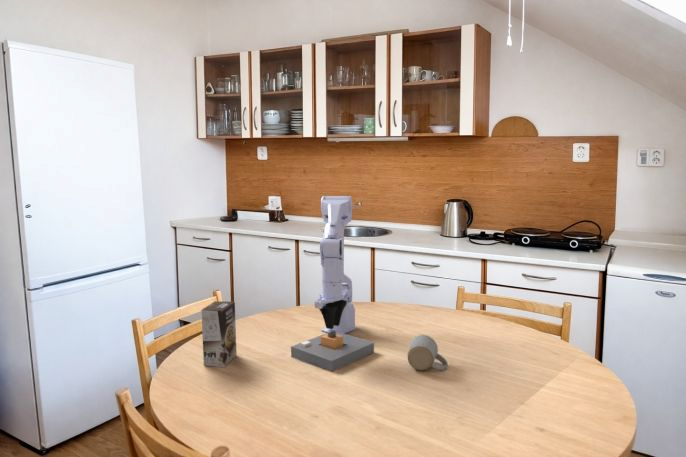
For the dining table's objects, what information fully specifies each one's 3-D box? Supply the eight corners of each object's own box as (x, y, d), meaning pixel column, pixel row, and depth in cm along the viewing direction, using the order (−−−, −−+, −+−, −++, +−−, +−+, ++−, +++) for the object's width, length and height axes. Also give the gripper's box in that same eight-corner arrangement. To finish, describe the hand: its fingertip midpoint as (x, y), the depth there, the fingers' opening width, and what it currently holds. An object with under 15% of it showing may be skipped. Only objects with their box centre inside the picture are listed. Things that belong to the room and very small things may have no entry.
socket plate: (334, 339, 166) (333, 328, 166) (374, 352, 156) (374, 340, 155) (291, 356, 153) (290, 343, 153) (331, 371, 143) (331, 358, 142)
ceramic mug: (406, 370, 143) (406, 343, 142) (410, 359, 151) (411, 333, 150) (446, 375, 140) (447, 347, 139) (448, 363, 148) (449, 336, 147)
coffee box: (224, 367, 146) (222, 310, 143) (202, 366, 147) (200, 309, 145) (237, 355, 155) (235, 301, 152) (217, 353, 156) (214, 300, 154)
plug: (329, 350, 158) (328, 327, 157) (343, 354, 155) (342, 330, 154) (321, 354, 155) (320, 331, 153) (335, 358, 152) (334, 335, 151)
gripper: (334, 273, 159) (335, 317, 161) (305, 284, 147) (306, 331, 149) (354, 276, 156) (354, 321, 158) (326, 287, 144) (326, 336, 146)
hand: (332, 326), depth 153 cm, fingers closed
